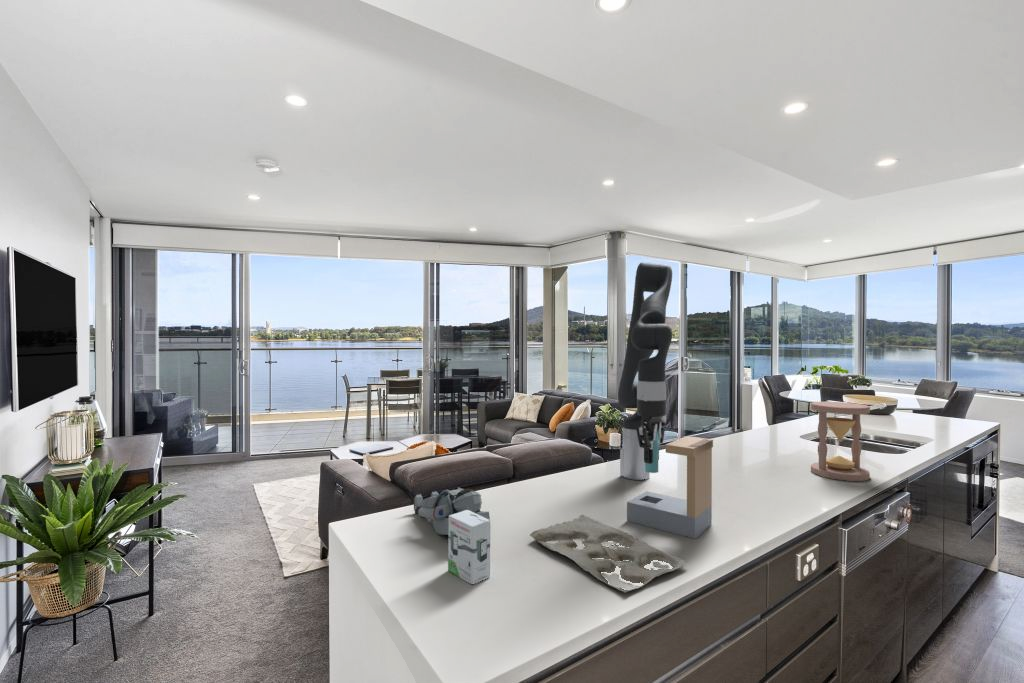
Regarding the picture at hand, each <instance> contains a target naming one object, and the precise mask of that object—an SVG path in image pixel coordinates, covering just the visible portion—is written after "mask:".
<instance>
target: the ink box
mask: <svg viewBox="0 0 1024 683" xmlns="http://www.w3.org/2000/svg"><path fill="white" fill-rule="evenodd" d="M447 536H448V554H447V557H448V558H447V562H448V563H447V570H448V572H450V573H451V574H453V575H455V576H457V577H458V578H459V579H462V580H464V581H465V582H466V581H467V582H466V583H468V582H469V583H468V584H470V583H471V584H474V585H476V584H479V583H481V582H483V581H485V579H486V580H488V579H490V578H491V520H490V521H489V519H487V518H484V517H482V516H480V515H478V514H476V513H474V512H472V511H469V510H465V511H462V512H459V513H455V514H452V515H449V535H447ZM489 577H490V578H489ZM487 578H488V579H487ZM482 580H483V581H482ZM480 581H481V582H480ZM478 582H479V583H478ZM475 583H476V584H475ZM471 584H470V585H471Z"/></svg>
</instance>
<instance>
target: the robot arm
mask: <svg viewBox="0 0 1024 683" xmlns="http://www.w3.org/2000/svg"><path fill="white" fill-rule="evenodd" d="M672 281H673V268H672V267H671V266H670V265H668V264H665V263H656V262H655V263H654V262H643V261H642V262H640V263H639V264H638V265H637V268H636V272H635V280H634V289H633V301H632V311H631V317H630V323H629V326H628V333H627V341H626V350H625V356H624V364H623V367H622V373H621V377H620V381H619V386H618V389H617V390H618V391H617V402H618V405H619V406H620V407H621V408H622V409H636V411H635V412H634V413H633V414H631V415H629V416H627V417H625V418H623V419H622V448H620V450H619V452H620V453H619V454H620V455H619V459H620V460H619V461H620V462H619V467H620V468H619V470H620V472H619V476H620V477H624V478H625V479H629V480H636V481H645V480H648V479H650V477H651V476H650V473H649V472H646V471H645V463H649V464H651V463H653V441H655V437H656V431H657V430H658V461H660V460H659V459H660V447H661V444H663V443H664V437H665V431H666V421H662V418H663V417H665V416H666V415H667V387H666V363H667V362H666V361H667V356H668V352H669V351H670V350H669V349H670V345H671V344H672V338H673V331H672V328H671V327H670V326H669V325H668V324H666V319H667V318H666V316H667V314H666V312H667V305H668V304H667V303H668V300H669V297H670V291H671V288H672ZM644 292H645V293H646V292H647V293H651V294H650V295H649V296H648V297H646V298H645V297H644V296H645V295H644ZM656 350H657V354H656V355H655V356H652V355H653V353H654V351H656ZM636 377H637V381H635V379H636ZM661 417H662V418H661ZM648 436H652V437H648ZM649 441H650V443H649ZM644 479H645V480H644Z"/></svg>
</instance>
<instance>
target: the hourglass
mask: <svg viewBox="0 0 1024 683" xmlns="http://www.w3.org/2000/svg"><path fill="white" fill-rule="evenodd" d="M810 409H811V410H812V411H815V412H818V424H817V434H818V436H819V437H818V438H819V441H818V444H817V454H818V462H814V463H812V464H810V472H811V473H812V474H815V475H817V476H818V477H819V476H820V477H823V478H826V479H831V480H836V479H837V481H843V480H846V482H866V481H868V480H870V478H871V474H870V471H869V470H868V469H866V468H864V467H861V453H862V446H861V442H860V436H861V433H862V425H861V415H868V414H870V413H871V408H870V406H869V405H866V404H862V403H852V402H843V401H842V402H841V401H814V402H811V404H810ZM827 414H837V415H839V414H840V415H852V418H849V417H848V418H845V417H838V416H837V417H836V416H835V417H834V416H833V417H830V416H828V417H827ZM828 427H829V429H830V430H831V431H832V433H833V434H834V435H835V436H836V442H843V438H844V437H845V436H846V435H847V434H848V432H849V431H851V434H852V437H853V439H852V443H851V445H850V446H851V447H850V451H851V460H850V459H848V458H845V457H843V456H841V455H837V456H833V457H830V458H829V457H828V458H827V455H828V446H827V442H826V438H827V435H828Z"/></svg>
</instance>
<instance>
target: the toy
mask: <svg viewBox="0 0 1024 683" xmlns="http://www.w3.org/2000/svg"><path fill="white" fill-rule="evenodd" d="M482 504H483V501H482V495H481V494H480V492H478V491H476V490H473V489H469V488H461V487H457V489H452V490H449V489H448V488H447V489H445V490H442V491H441V492H438V491H437V490H434V491H430V494H429V497H427V498H424V499H423V496H422V494H421V493H420V494H415V496H413V511H414V515H418V516H419V517H422V518H426V519H430V520H432V525H433V527H434V529H435V532H436V533H437V534H438V535H442V536H443V535H445V536H448V535H449V515H452V514H455V513H459V512H462V511H465V510H469V511H472V512H474V513H476V514H478V515H480V516H482V517H484V518H487V519H489V521H490V522H491V517H490V511H484V510H483V511H482V510H481V508H482Z"/></svg>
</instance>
